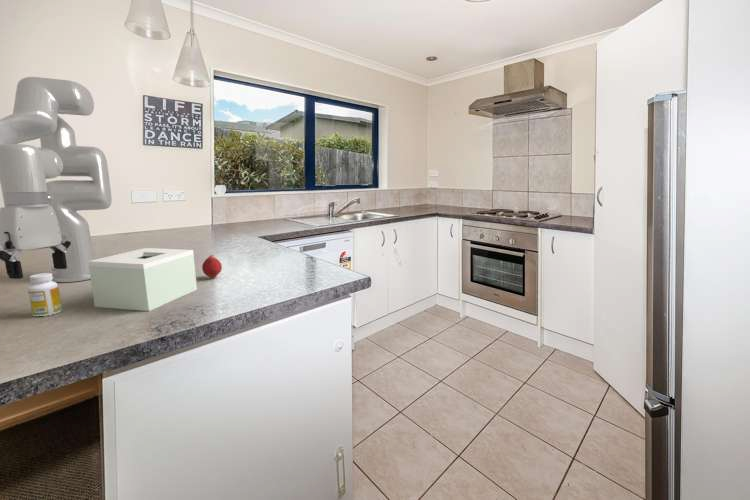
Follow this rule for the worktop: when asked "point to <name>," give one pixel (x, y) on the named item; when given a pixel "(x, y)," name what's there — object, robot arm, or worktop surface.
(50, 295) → the supplement bottle
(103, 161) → the robot arm
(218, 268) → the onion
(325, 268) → the worktop surface
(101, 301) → the caddy
